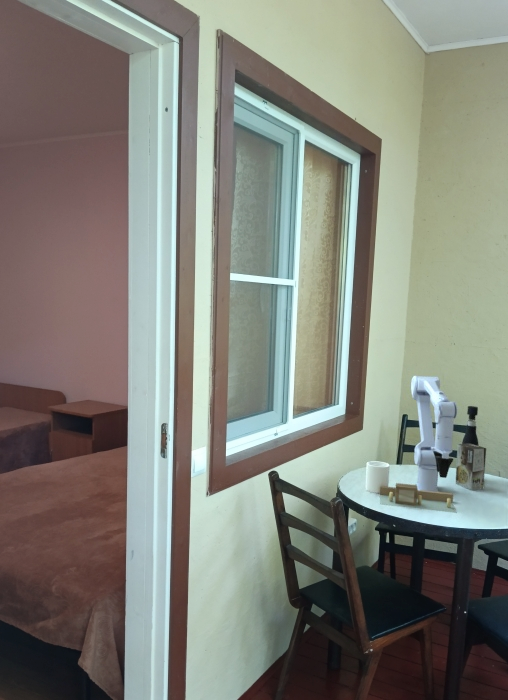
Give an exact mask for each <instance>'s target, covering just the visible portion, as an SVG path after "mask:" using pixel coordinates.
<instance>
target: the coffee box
mask: <svg viewBox="0 0 508 700" xmlns="http://www.w3.org/2000/svg"><path fill="white" fill-rule="evenodd" d="M486 455H487V448H486V447H483V446H482V445H481V446H480V445H479V446H477V445H474V444H470V443H466V444H462V443H458V444H457V453H456V466H455V467H456V470H455V485H458V486H460V487H463V488H465V489H468V490H471V491H474V490H484V486H485V471H486V457H487V456H486Z"/></svg>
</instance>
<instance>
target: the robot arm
mask: <svg viewBox="0 0 508 700" xmlns="http://www.w3.org/2000/svg"><path fill="white" fill-rule="evenodd" d="M410 388H411V396H412V399H413V400H415V401H416V406H417V414H418V425H419V433H420V442H418V443H417V444H416V445H415V447H414V454H413V455H414V456H413V458H414V459H413V460H414V463H415V465H416V466H417V467H418V469H417V482H416V483H415V484H414V485H417V488H418V490H424V491H433V492H439V489H438V482H439V481H438V478H439V477H440V478H447V477H448V472H449V470H450V467H451V465H452V463H453V462H454V458H452V457H450V454H451V453H453V437H454V424H455V423H454V420H455V419H456V418H457V415H458V406H457V404H456V401H450V399H449V397H448V396H447V395H446V393H445V392H444V391H442V390H440V388H441V382H440V379H439V377H438V376H419V375H413V377H412V378H411V383H410ZM431 404H432V406H433V408H434V410H433V411H434V421H435V436H434V428H433V427H434V426H433V418H432V417H433V416H432V411H431Z"/></svg>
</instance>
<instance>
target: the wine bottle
mask: <svg viewBox="0 0 508 700" xmlns="http://www.w3.org/2000/svg"><path fill="white" fill-rule="evenodd" d="M478 412H479V408H478V406H473V405H469V406H467V413H466V414H467V415H468V420H467V425H466V428H465V429H466V431H465V434H464V435H463V439H462V441H461V444H466V443H470V444H474V445H477V446H480V445H479V439H478V435H477V421H476V416H478Z"/></svg>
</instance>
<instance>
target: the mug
mask: <svg viewBox="0 0 508 700" xmlns="http://www.w3.org/2000/svg"><path fill="white" fill-rule="evenodd" d="M365 470H366V471H365V485H364V486H365V488H364V489H365V491H366V492H370V493H374V494H380V486H386V487H389V483H390V482H389V481H390V479H389V478H390V464H389V463H388V462H385V461H378V460H377V461H375V460H374V461H373V460H371V461H368V462H366V469H365Z"/></svg>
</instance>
